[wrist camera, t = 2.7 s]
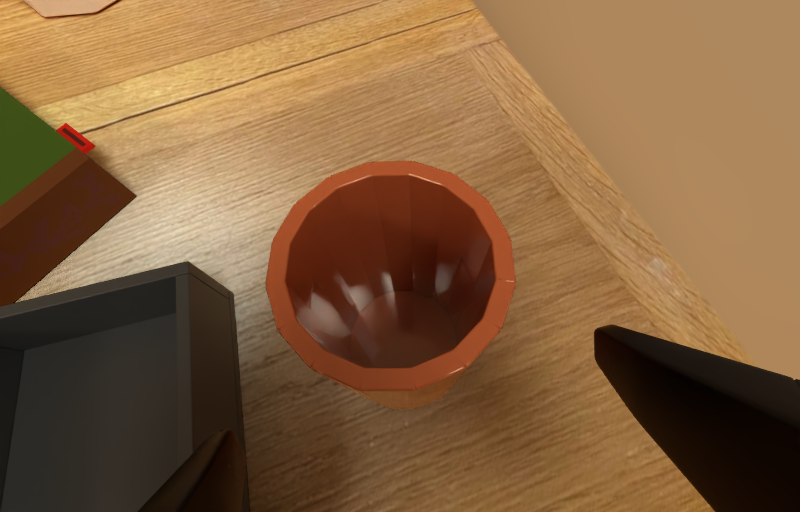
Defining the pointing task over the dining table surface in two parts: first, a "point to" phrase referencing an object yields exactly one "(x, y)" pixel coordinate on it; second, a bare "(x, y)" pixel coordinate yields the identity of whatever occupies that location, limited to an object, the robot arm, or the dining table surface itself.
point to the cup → (68, 6)
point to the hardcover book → (46, 196)
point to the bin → (114, 389)
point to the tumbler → (391, 280)
